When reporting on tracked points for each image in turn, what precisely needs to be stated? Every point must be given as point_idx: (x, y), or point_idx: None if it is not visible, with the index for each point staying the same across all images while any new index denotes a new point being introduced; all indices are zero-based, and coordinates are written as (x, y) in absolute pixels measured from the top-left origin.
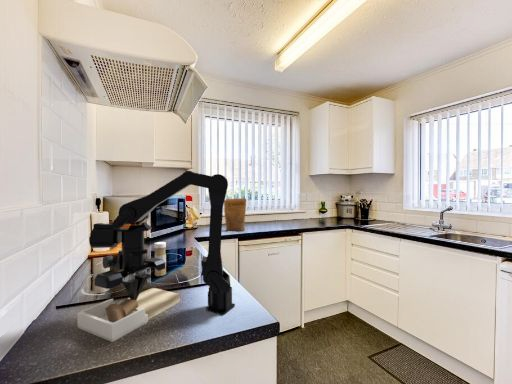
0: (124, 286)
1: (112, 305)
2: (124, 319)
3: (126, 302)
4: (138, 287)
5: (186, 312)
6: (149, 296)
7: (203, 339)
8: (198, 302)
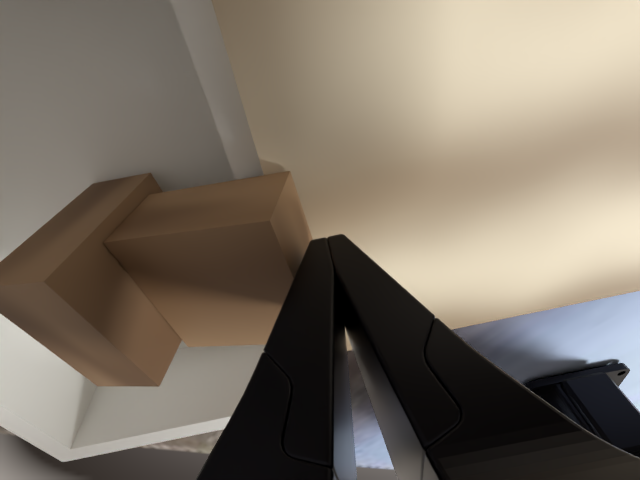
0: (208, 461)
1: (57, 313)
2: (147, 441)
3: (238, 283)
4: (394, 459)
5: (484, 351)
6: (561, 137)
7: (359, 464)
8: (607, 314)
